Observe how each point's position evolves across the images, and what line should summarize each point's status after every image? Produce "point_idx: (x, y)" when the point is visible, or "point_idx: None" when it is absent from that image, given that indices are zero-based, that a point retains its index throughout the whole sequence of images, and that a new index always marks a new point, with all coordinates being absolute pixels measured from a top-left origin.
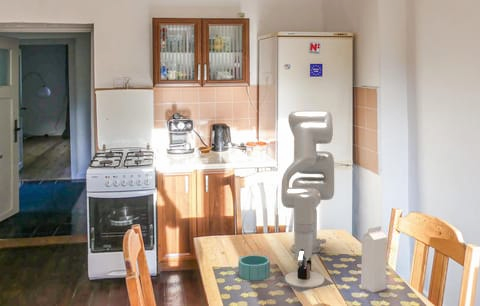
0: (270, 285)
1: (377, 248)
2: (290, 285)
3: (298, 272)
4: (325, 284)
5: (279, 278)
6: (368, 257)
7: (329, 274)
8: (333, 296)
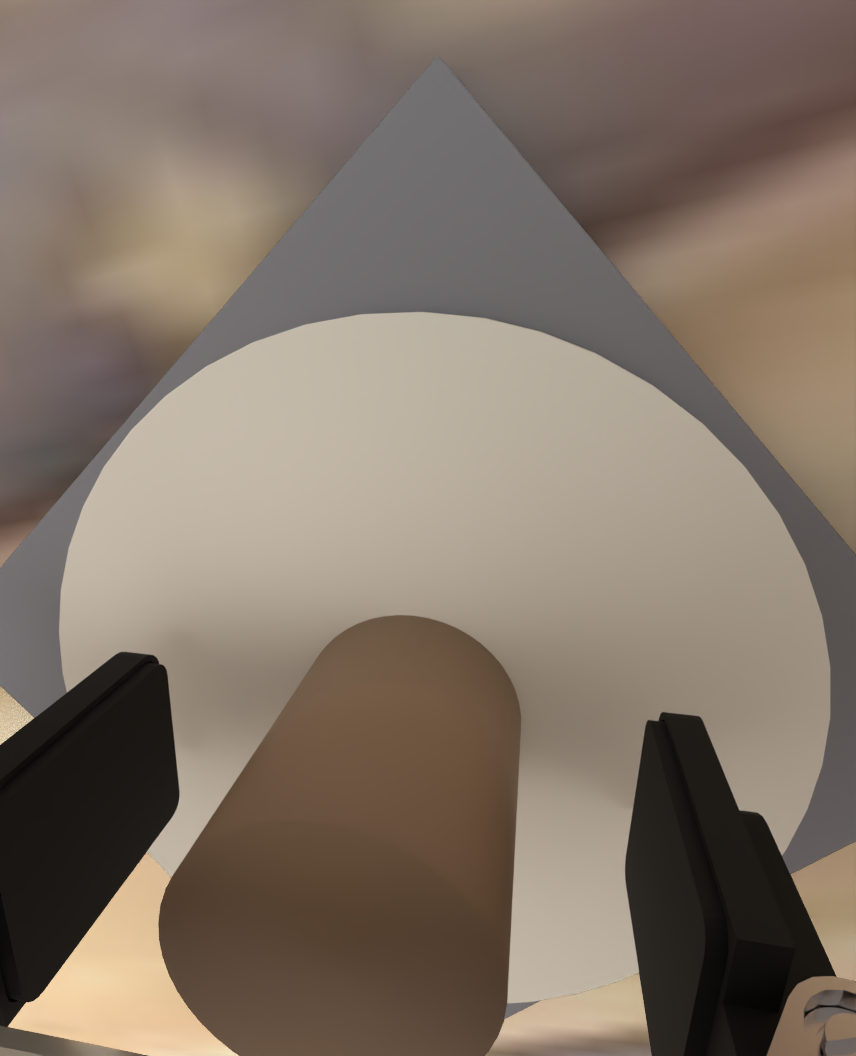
0: (57, 52)
1: None
2: None
3: (36, 740)
4: None
5: (394, 166)
6: None
7: None
8: (63, 1004)
